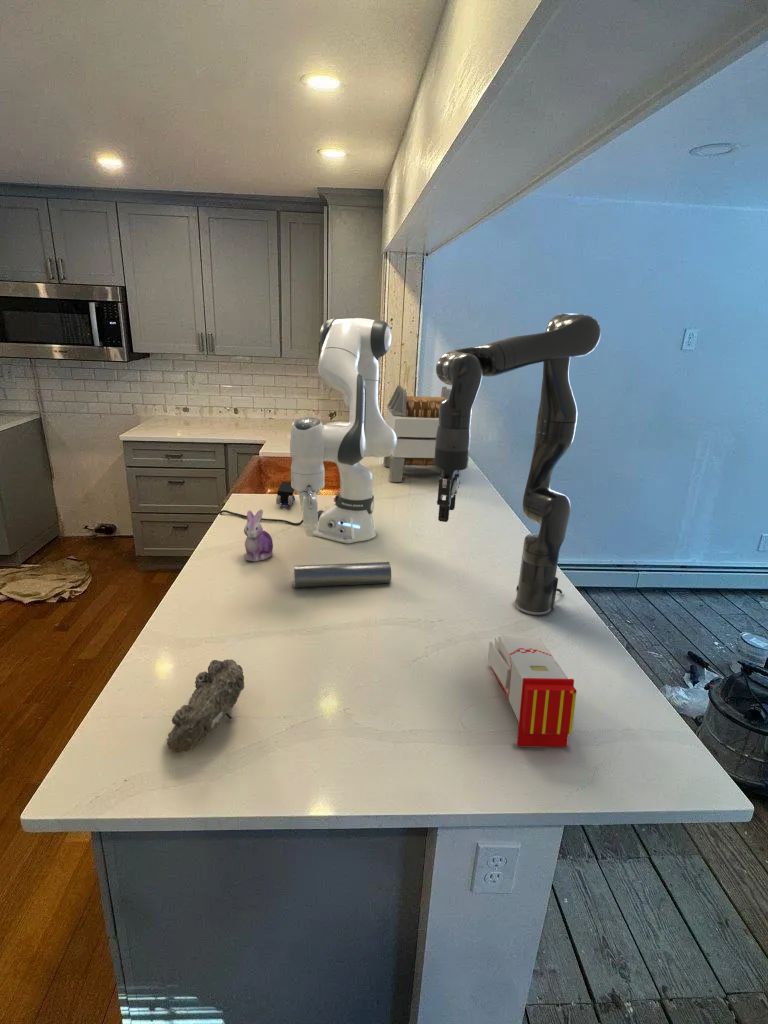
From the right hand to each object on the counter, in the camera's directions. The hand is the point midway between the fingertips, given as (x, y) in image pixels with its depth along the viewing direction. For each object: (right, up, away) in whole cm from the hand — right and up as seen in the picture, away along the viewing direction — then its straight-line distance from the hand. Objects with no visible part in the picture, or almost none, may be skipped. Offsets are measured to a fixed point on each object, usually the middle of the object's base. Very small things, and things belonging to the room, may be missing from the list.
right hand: (446, 515), depth 130 cm
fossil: (-47, -38, -22) cm, 65 cm away
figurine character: (-53, +4, +94) cm, 108 cm away
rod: (-26, -20, +32) cm, 46 cm away
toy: (+14, -38, -13) cm, 43 cm away
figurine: (-54, -13, +47) cm, 72 cm away
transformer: (+3, +19, +145) cm, 146 cm away
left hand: (-35, -4, +24) cm, 43 cm away
